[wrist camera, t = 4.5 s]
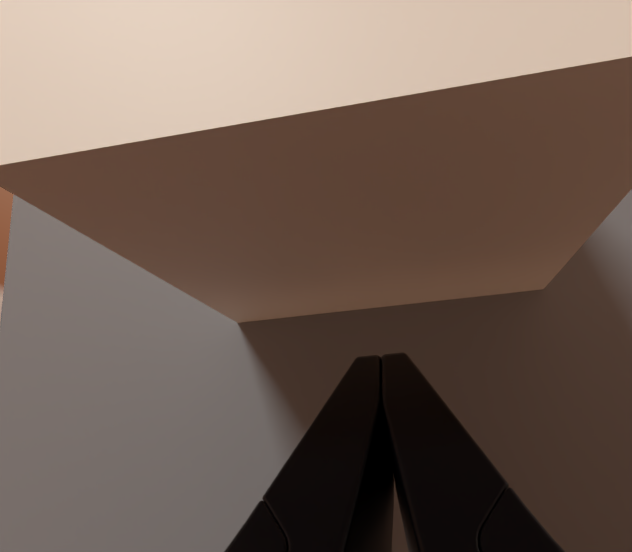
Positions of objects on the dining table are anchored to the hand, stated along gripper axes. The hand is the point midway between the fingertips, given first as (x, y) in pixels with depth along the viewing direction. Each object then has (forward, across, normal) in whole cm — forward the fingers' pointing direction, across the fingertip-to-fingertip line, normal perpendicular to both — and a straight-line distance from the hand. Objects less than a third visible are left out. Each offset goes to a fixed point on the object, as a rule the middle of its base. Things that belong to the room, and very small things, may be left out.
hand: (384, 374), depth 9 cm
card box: (+5, 0, -1) cm, 5 cm away
